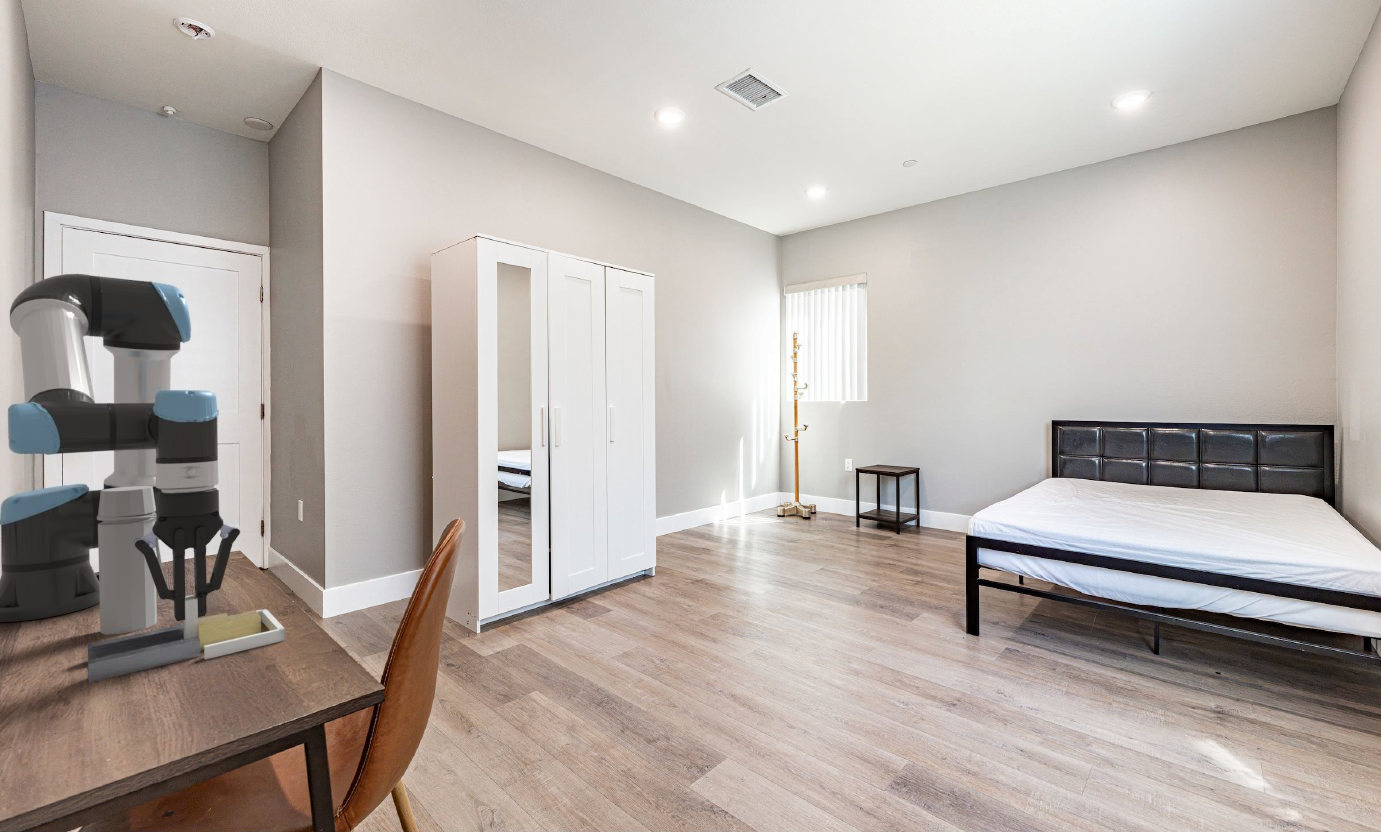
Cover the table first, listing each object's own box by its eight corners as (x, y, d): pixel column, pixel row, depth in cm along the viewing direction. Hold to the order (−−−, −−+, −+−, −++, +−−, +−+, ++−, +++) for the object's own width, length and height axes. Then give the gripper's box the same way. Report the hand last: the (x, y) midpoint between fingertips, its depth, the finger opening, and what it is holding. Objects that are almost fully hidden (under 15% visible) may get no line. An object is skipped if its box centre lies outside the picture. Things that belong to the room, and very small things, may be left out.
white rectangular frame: (192, 641, 100) (192, 623, 100) (266, 625, 107) (266, 608, 107) (205, 667, 90) (204, 647, 90) (285, 647, 97) (285, 628, 97)
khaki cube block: (226, 640, 99) (226, 616, 99) (256, 634, 102) (255, 610, 102) (231, 647, 96) (230, 622, 96) (261, 640, 99) (260, 616, 99)
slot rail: (87, 668, 90) (87, 644, 90) (191, 645, 98) (191, 622, 98) (89, 690, 83) (88, 664, 83) (200, 663, 91) (200, 639, 91)
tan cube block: (195, 643, 96) (194, 619, 96) (226, 636, 99) (226, 612, 99) (199, 650, 93) (198, 625, 93) (231, 643, 96) (230, 618, 96)
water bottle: (123, 643, 99) (120, 492, 99) (86, 639, 101) (83, 491, 100) (181, 623, 108) (178, 484, 108) (146, 620, 110) (143, 483, 109)
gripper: (132, 496, 87) (136, 658, 87) (244, 487, 96) (246, 633, 96) (129, 490, 92) (132, 644, 92) (235, 482, 101) (237, 622, 102)
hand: (191, 638), depth 94 cm, fingers closed
